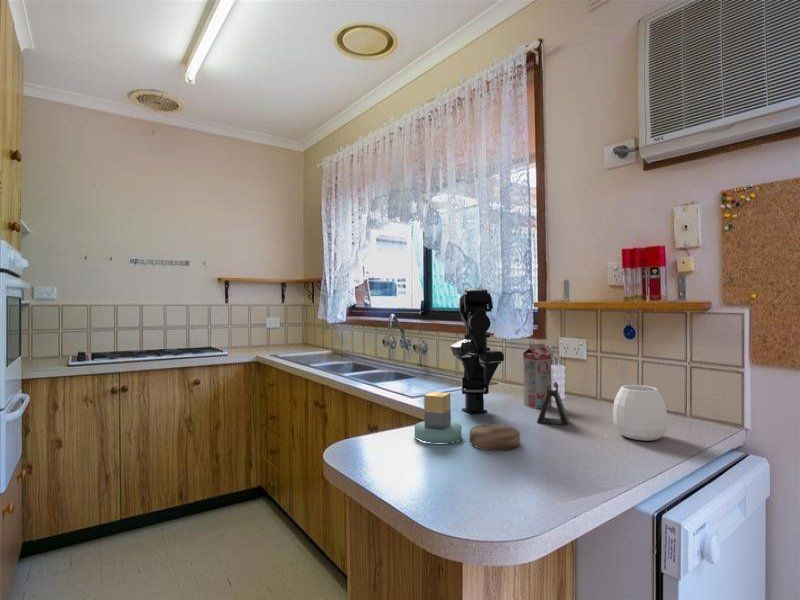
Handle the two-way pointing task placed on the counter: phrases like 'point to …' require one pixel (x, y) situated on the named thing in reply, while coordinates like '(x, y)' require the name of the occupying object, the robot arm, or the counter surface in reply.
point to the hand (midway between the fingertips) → (477, 382)
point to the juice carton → (536, 375)
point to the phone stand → (563, 415)
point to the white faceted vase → (640, 412)
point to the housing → (437, 410)
